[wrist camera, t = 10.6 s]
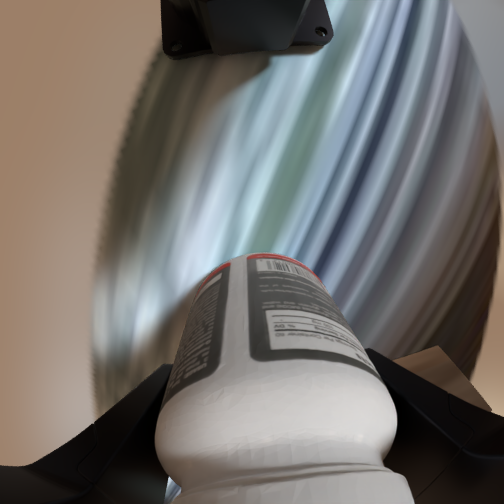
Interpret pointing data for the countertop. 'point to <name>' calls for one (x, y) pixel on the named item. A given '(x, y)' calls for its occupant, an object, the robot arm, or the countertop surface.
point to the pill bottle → (275, 396)
